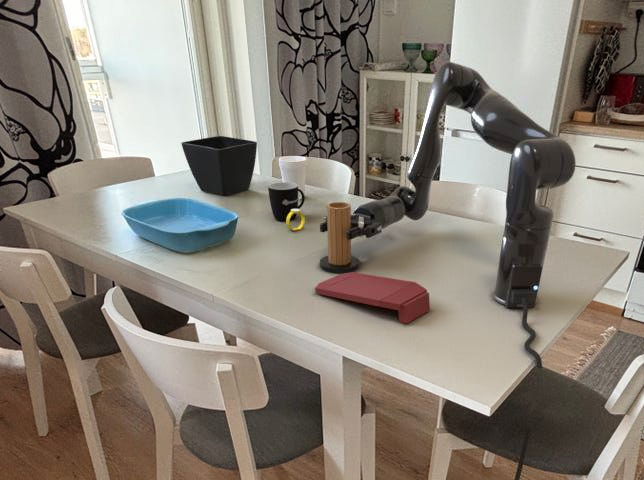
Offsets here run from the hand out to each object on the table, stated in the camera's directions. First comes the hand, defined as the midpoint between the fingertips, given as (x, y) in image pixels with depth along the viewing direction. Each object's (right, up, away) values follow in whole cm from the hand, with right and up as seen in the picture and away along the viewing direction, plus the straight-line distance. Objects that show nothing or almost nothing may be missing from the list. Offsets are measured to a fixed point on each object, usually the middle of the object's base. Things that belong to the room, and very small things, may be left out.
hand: (334, 231), depth 124 cm
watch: (-13, +8, +29) cm, 33 cm away
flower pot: (-44, +31, +66) cm, 85 cm away
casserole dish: (-44, +4, +23) cm, 50 cm away
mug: (-17, +14, +39) cm, 45 cm away
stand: (+1, -7, +6) cm, 9 cm away
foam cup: (-18, +27, +60) cm, 68 cm away
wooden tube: (+1, -6, +6) cm, 8 cm away
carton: (+9, -18, -10) cm, 22 cm away
